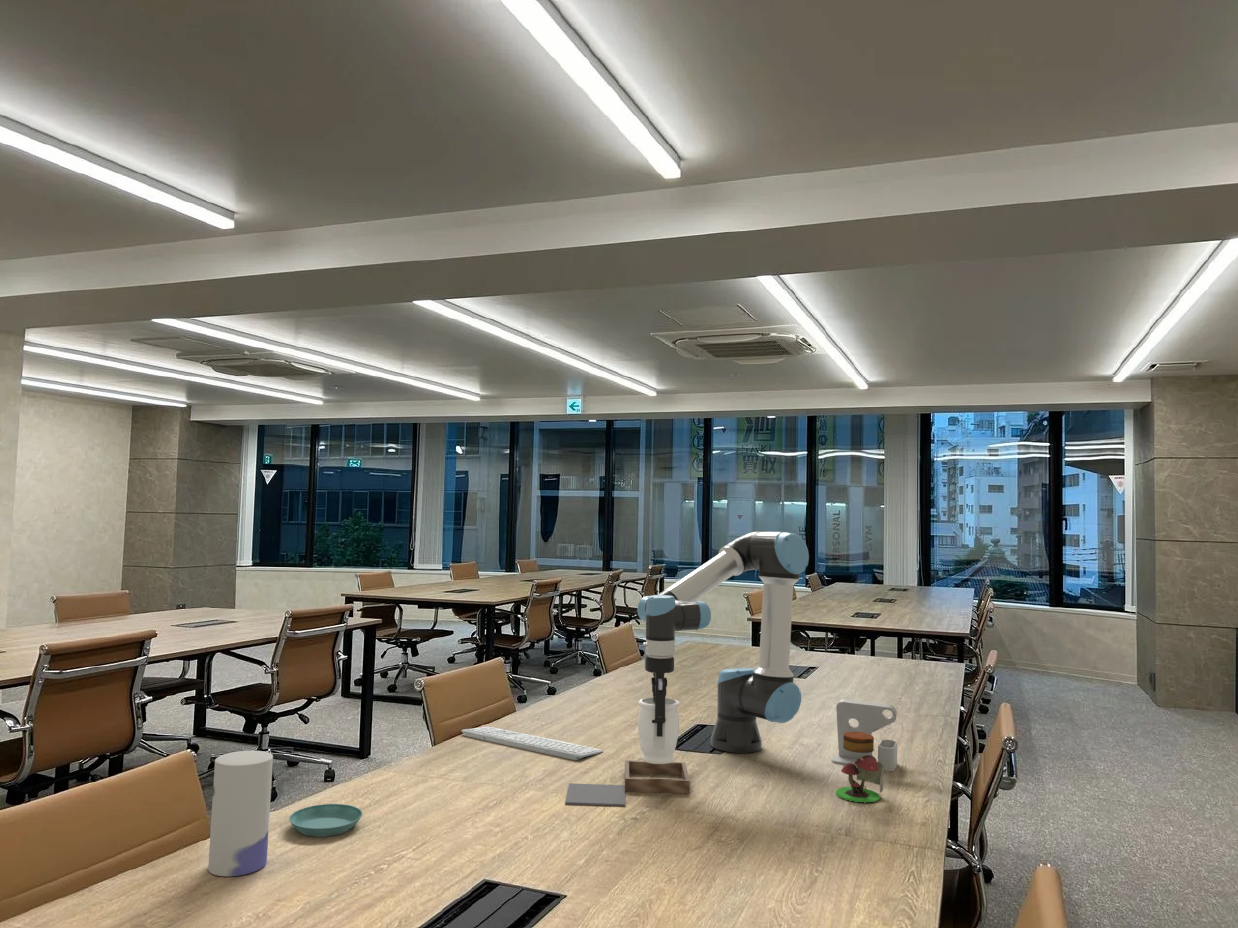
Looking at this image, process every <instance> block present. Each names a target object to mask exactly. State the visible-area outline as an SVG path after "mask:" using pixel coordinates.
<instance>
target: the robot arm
mask: <svg viewBox="0 0 1238 928" xmlns="http://www.w3.org/2000/svg"><path fill="white" fill-rule="evenodd" d="M809 559H810V555H809V550H808V547H807V543H806V542H805V541H804V539H803V538H802V537H801V536H799V535H798V534H796V533H794V532H793V533H792V532H786V531H762V530H761V531H759V530H758V531H757V530H756V531H752V532H751V531H750V532H749V533H745V534H743V535H741V536H739V537H737V538H735V539H734V540H732V541H730V542H728V543H726V545H724V546H722V547H721V548H720V549H719V550H718V554H716V555H715V556H714V557H712V558H710V559H709V560H707V561H706V562H704V563H703V564H702V565H700V566H699V567H697V568H696V569H693V571H691V572H689V573H688V574H686V575H685V576H683V577H682V578H681V579H679V580H678V581H676V582H675V583H673V584H672V585H670V586H669V587H667V588H666V589H664V590H663V591H661V592H660V593H658V594H654V595H653V594H652V595H645V596H644V597H642V598H641V599H639V601H638V605H637V607H636V608H637V609H636V611H637V615H638V617H639V619H640V621H643V622H645V642H643V643H642V645H643V647H645V654H646V656H645V657H644V670H645V672H648V673H651V674H652V677H651V678H650V679H651V692H652V697H654V703H655V720H652V723H654V749H664V748H665V721H666V719H665V698H667V687H668V679H667V677H665V674H670V673H672V672H674V671H675V658H674V656H675V652H676V651H675V647H676V644H675V642H676V641H675V637H676V636H675V634H676V632H681V631H699V630H703V629H705V628H707V627H708V626H709V625H710V623H711V621H712V611H711V608H710V607H709V605H708V603H706V602H705V601H703V600H702V601H701V600H699V599H701V598H702V597H704V596H706V594H708V593H709V592H711V591H713V590H714V589H716V587H718V586H719V585H721V584H722V583H723V582H725V581H727V580H728V579H730V578H731V577H733V576H734V577H735V576H736V577H737V576H740V575H741V574H743V573H745V572H747V571H756V570H757V571H758V578H759V579H760V581H762V583H763V584H762V585H763V587H762V589H763V590H762V605H761V606H762V607H761V623H760V639H759V640H760V642H759V658H758V660H759V661H758V666H757V667H756V668H755V667H754V668H753V667H737V668H736V667H735V668H732V667H731V668H724V669H722V670H720V671H719V674H718V680H717V681H718V682H717V710H716V711H717V716H716V722H715V724H714V727H713V731H712V734H711V736H710V745H711V747H712V748H714V749H716V750H719V751H722V752H728V753H736V754H749V753H756V752H759V751H760V750H761V749H762V744H763V743H762V741H763V740H762V738H761V734H760V730H759V726H758V724H757V718H758V719H762V720H767V721H768V722H770V723H778V724H786V723H788V722H790V721H792V719H794V717H795V716H796V715H797V714H798V713H799V712H798V711H800V710H799V709H800V707H801V705H802V704H801V703H802V691H801V690H800V688H799V685H797V684H796V683H795V682H794V679H795V677H794V676H795V675H794V673H793V672H792V671H791V670H790V656H791V655H790V651H791V638H792V637H791V636H792V635H791V634H792V617H793V615H792V614H793V601H794V600H793V598H794V597H793V596H794V595H793V594H794V586H795V584H796V583H797V582H798V581H800V574H801V573H803V572H804V571H805V570H806V568H807V567H808V565H809Z"/></svg>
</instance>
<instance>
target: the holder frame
mask: <svg viewBox="0 0 1238 928" xmlns="http://www.w3.org/2000/svg"><path fill="white" fill-rule="evenodd" d="M630 774H649V775H672V776H673V775H674V776H679V775H680V776H681V779H676V778H675V779H673V778H670V779H669V778H654V777H653V778H650V777H649V778H648V777H645V778H644V777H630ZM624 785H625V792H636V793H637V792H638V793H639V792H640V793H666V794H667V793H668V794H691V793H690V791H691V790H690V789H691V780H690V776H689V772H688V768H687V764H686V762H685V761H673V762H671V763H667V764H652V763H647V762H645V761H643V760H631V759H630V760H629V759H625V760H624Z"/></svg>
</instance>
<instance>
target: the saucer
mask: <svg viewBox="0 0 1238 928" xmlns="http://www.w3.org/2000/svg"><path fill="white" fill-rule="evenodd" d="M362 817H363V811H362V810H361V809H360V808H358V807H357V806H354V805H349V804H343V803H324V804H317V805H316V804H315V805H310V806H307V807H304V808H301V809H298V810H296V811H294V812H293V813H292V814H291V815H289V817H288V820H289V822H290V825H291V826H292V827H293V828H294V829H295V830H296V831H298V833H300V834H301V835H304V836H307V837H314V838H315V837H318V838H319V837H320V838H322V837H330V836H337V835H341V834H343V833H346V832H348V831H350V830H351V829H352V828H354V826H355V825H357V823H359V821H360V819H362Z"/></svg>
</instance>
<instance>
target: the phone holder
mask: <svg viewBox="0 0 1238 928" xmlns="http://www.w3.org/2000/svg"><path fill="white" fill-rule="evenodd" d="M835 708H836V709H835V710H836V726H837V745H838V746H837V747H838V752H837V753H835V754H834V756H833V757H832V759H831V763H833V764H835V765H844V766H845V765H846V764H848V763H852V764H854V765H855V766H856V767H857V765H856V764H855V761H857V758H861V757H863V756H866V755H871V756H873V754H874V753H873V752H870V753H857V752H851V751H848V750H846V749H844V748H843V736H844V733H846V732H862V733H867V734H870V735H872V736H873V734H872V733H874V732H876V731H878V730H881V729H884V728H885V727H887V726H889V725H891V724H893V723H895V722H896V720H897V717H898V716H897V715H898V714H897V708H895V706H894V705H891V704H887V703H881V702H880V703H879V702H872V701H871V702H870V701H863V700H862V701H861V700H855V699H848V698H847V699H846V698H842V699H839V700H838V701H837V703H836V707H835ZM886 710H887V711H890V712H891V714H892V715H891V716H886V715H884V714H883V712H884V711H886ZM851 719H852V720H853V719H854V720H856V721H857V722H858V725H857V726H852V725H851V724H850V722H849V721H850V720H851ZM873 757H874V756H873ZM875 758H876V760H877V762H879V763H881V764H882V765H883V770H885V771H884V772H888V771H894V770H896V769H895V768H897V766H898V742H897V741H895V740H892V739H881V740H880V741H879V743H878V745H877V757H875ZM894 772H895V771H894Z"/></svg>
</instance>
